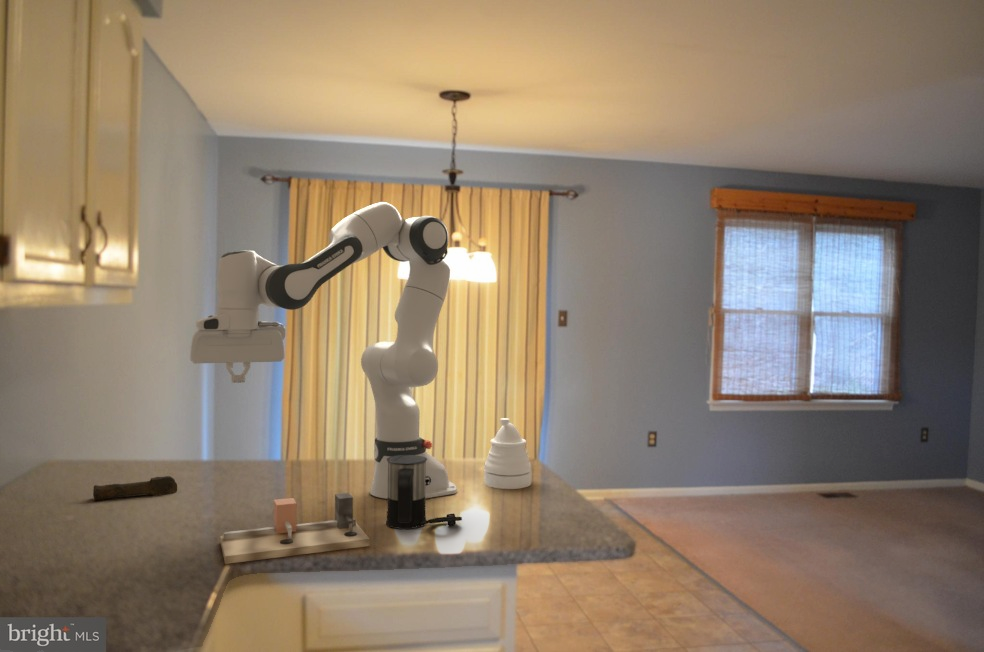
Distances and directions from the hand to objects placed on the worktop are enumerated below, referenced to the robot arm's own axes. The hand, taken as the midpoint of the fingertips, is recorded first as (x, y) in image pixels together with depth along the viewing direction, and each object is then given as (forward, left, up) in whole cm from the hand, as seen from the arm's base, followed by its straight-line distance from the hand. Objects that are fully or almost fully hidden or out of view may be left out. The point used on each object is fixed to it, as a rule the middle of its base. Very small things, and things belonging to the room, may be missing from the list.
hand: (238, 382), depth 171 cm
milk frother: (-38, +20, -31) cm, 53 cm away
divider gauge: (-9, +23, -31) cm, 40 cm away
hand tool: (+22, -29, -32) cm, 48 cm away
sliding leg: (-8, +21, -29) cm, 37 cm away
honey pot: (-71, -7, -31) cm, 78 cm away
